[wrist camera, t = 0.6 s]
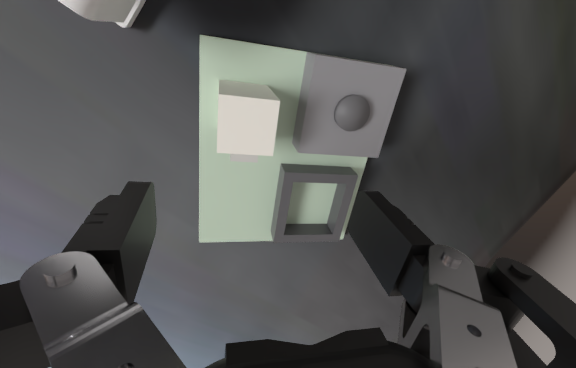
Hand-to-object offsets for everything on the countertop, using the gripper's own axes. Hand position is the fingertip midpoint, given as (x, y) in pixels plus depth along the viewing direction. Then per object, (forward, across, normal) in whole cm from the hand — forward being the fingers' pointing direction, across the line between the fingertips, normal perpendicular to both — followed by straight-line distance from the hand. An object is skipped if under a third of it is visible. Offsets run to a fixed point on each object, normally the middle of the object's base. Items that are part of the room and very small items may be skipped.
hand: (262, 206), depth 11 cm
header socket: (+16, -8, +9) cm, 20 cm away
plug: (+15, 0, 0) cm, 15 cm away
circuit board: (+16, -5, +5) cm, 18 cm away
